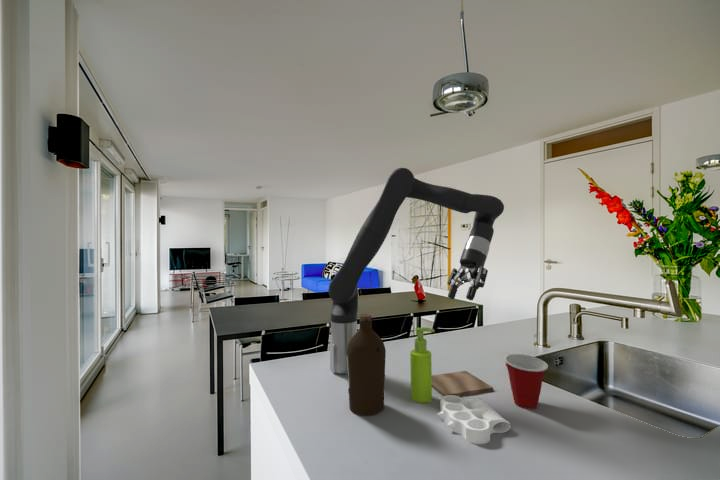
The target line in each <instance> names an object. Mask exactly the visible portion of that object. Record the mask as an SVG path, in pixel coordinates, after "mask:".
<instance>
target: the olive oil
mask: <svg viewBox="0 0 720 480" xmlns="http://www.w3.org/2000/svg"><path fill="white" fill-rule="evenodd" d="M358 321H359V328H358V329H357V333H356V334H355V335H354V336H353V337H352V338H351V339H350V341H349V343H348V346H347V352H346V353H347V368H348V374H347V383H348V389H347V390H348V391H347V392H348V402H349V409H350V411H351V412H352V413H354V414H356V415H359V416H374V415H377V414H380V413H381V412H383V410H384V409H385V383H386V382H385V381H386V379H385V377H386V375H385V373H386V357H387V356H386V354H387V352H386V347H385V343H384V341H383V339H382V338H381V337H380V336H379V335H378V334H377V333H376V332H375V331H374V329H373V327H372V326H373V320H372V314H369V313H362V314H360V315H359V320H358Z"/></svg>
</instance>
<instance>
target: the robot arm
mask: <svg viewBox="0 0 720 480" xmlns="http://www.w3.org/2000/svg"><path fill="white" fill-rule="evenodd" d="M406 198H409V199H414V200H415V199H416V200H419V201H425V202H427V203H430V204H433V205H438V206H440V207H443V208H446V209H449V210H452V211H454V212H458V213H462V214H469V213H472V212H473V213H475V214H474V217H473V222H472V228H471V230H470V233H469V236H468V237H467V240H466V242H465V245H464V247H463V250H462V254H461V256H460V259H459V264H460V267H459V268H458V269H456V268H455V267H454V268H452V270H451V272H450V275H449V277H448V280H447V282H446V283H447V285H448V286H450V287H449V290H448V293H447V297H448V298H449V299H450V300H455V298H456V295H457V292H458V289H459V287H461V286H463V285H464V284H465V283H469V285H470V286H469V287H468V290H467V292H466V296H465V297H466V300H469V301H473V300H474V299H475V297H476V293H477V290H479V289H480V288H481V289H482V288H484V286H485V283H486V279H487V275H488V273H489V271H488V269H486V267H484V266H485V264H486V261H487V259H488V258H487V257H488V255H489V251H490V245H491V242H492V240H493V236H494V227H493V226H494V223H495V221H496V219H498V218H499V216H501V215H502V214H503V212H504V209H505V206H504V202H503V201H502V199H500V198H498V197H495V196H492V195H490V194H489V195H488V194H478V193H469V192H467V191H464V190H460V189H457V188H452V187H448V186H442V185H437V184H432V183H428V182H424V181H423V180H420V179H417V178H416V177H415V176H414V174H413V172H412V170H410V169H408V168H405V167H399V168H395V169H394V170H393V171H391V172H390V173H389V175H388V178H387V180H386V183H385V185H384V188H383V190H382V193H381V194H380V196H379V198H378V200H377V203H376V204H375V206H374V207H373V208H372V210H371V211H370V212H369V214H368V216H367V217H366V219H365V221H364V222H363V224H362V225H361V227H360V229H359V231H358V233H357V234H356V237H355V239H354V241H353V243H352V245H351V247H350V249H349V251H348V254H347V256H346V258H345V260H344V262H343V263H342V265H341V267H339V270H338V271H337V272H336V274H335V275H334V276H333V278H332V279H331V281H330V283H329V285H328V294H329V298H330V299H331V300H332V307H331V313H330V341H329V369H330V371H331V372H332V374H339V375H341V374H342V375H348V368H347V353H346V352H347V346H348V343H349V341H350V339H351V338H352V337H353V336H354V335H355V334H356V333H357V331H358V318H357V317H358V308H359V291H358V290H359V289H358V283H359V281H360V279H361V277H362V275H363V272H364V271H365V270H366V268H367V267H368V266H369V264H370V263H371V262H372V261H373V259H374V258H375V257H376V255H377V254H378V252H379V250H380V249H381V247H382V245H383V244H384V242H385V241H386V238H387V236H388V234H389V232H390V229H391V228H392V225H393V222H394V220H395V217H396V214H397V212H398V210H399V209H400V207H401V206H402V204H403V203H404V201H405V199H406Z"/></svg>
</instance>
